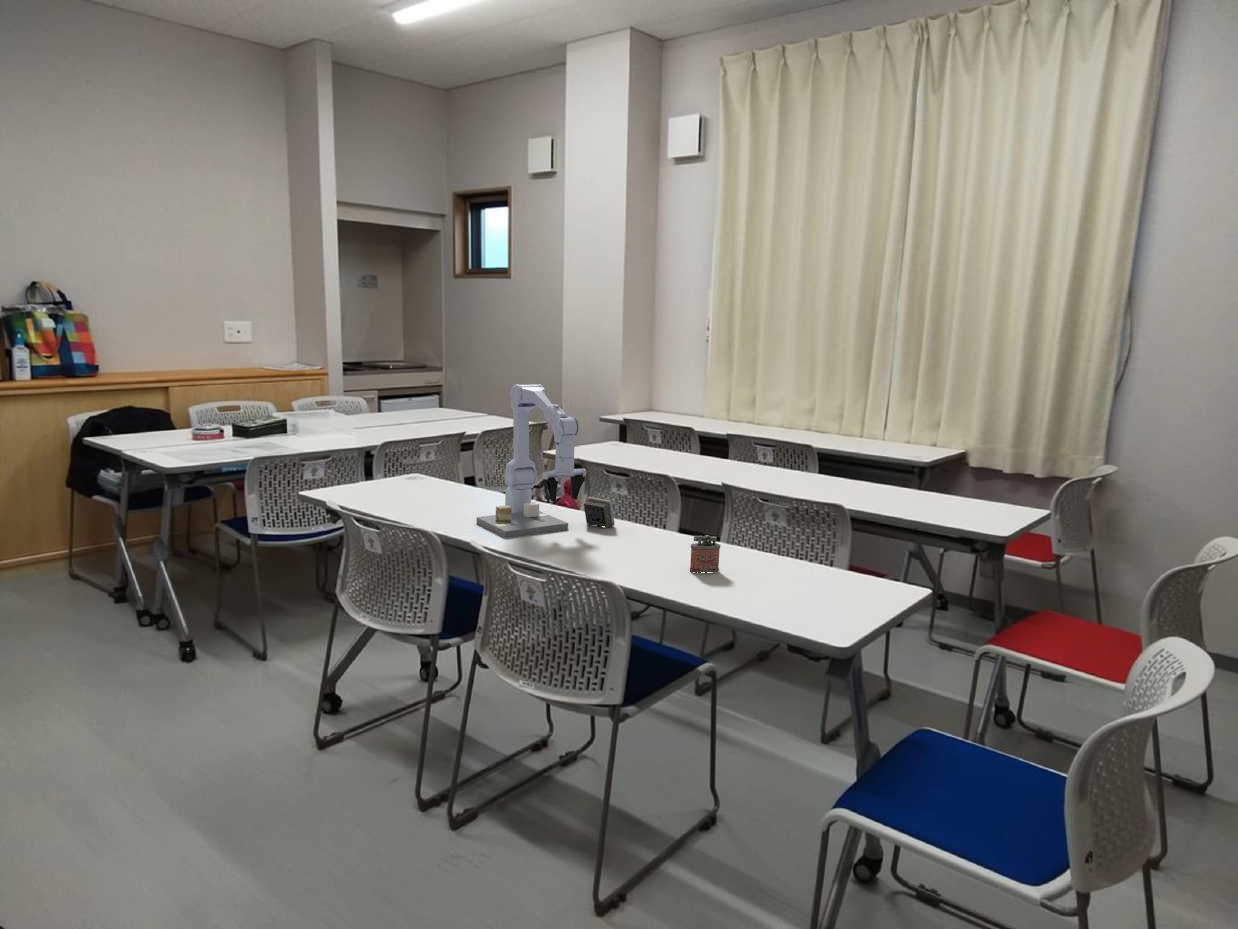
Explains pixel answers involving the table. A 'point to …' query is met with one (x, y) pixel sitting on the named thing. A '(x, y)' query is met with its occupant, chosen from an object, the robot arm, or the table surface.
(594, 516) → the electrical switch
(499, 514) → the wooden block
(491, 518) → the grey base plate
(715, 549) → the lighter
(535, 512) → the switch white
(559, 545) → the table surface
